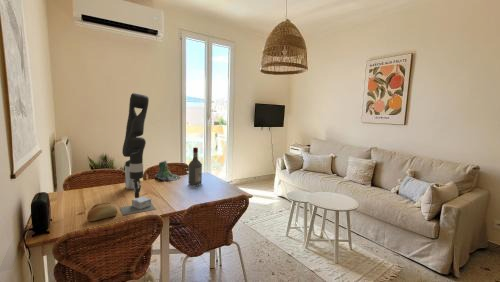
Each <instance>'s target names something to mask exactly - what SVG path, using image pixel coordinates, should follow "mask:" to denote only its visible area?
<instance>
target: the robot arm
mask: <svg viewBox="0 0 500 282" xmlns="http://www.w3.org/2000/svg"><path fill="white" fill-rule="evenodd" d="M149 99H150V97H149V96H148V95H146V94H141V93H135V92H133V93H131V95H130V97H129V104H128V105H129V106H128V117H127V122H126V127H125V136H124V142H123V145H122V152H121V153H122V155H123V157H124V158H129V160H126V161H125V162H124V165H125V166H124V171H125V189H126V190H133V192H134V199H135V198H139V197H140V191H141V187H142V185H141V184H142V183H141V180H140V179H143V178H144V163H143V160H144V159H143V156H144V150H145V147H146V139H145V138H144V137H141V136H143V135H144V132H145V131H144V129H145V121H146V117H147V114H148V113H147V112H148V107H149ZM135 109H139V110H140V112H139V114H137V111H136V110H135Z"/></svg>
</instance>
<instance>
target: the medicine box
mask: <svg viewBox="0 0 500 282" xmlns="http://www.w3.org/2000/svg"><path fill="white" fill-rule="evenodd" d="M151 203H152V199H151V198H150V197H147V196H144V195H142V196H139V198H135V197H134V198H132V199H131V206H133V207H135V208H138V209H143V208H145V207H148V206H151Z"/></svg>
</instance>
